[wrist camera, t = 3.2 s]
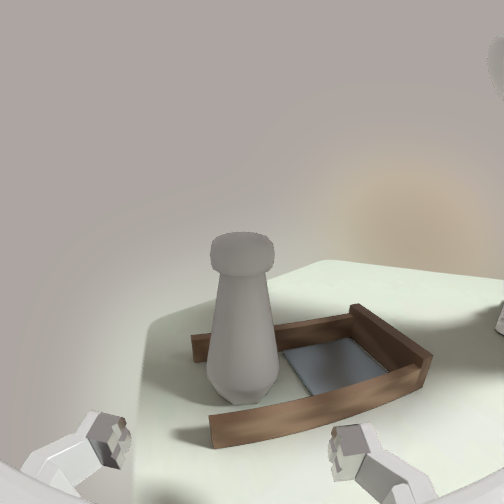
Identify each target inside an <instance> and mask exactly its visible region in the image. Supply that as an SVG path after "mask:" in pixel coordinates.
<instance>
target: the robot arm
mask: <svg viewBox="0 0 504 504" xmlns="http://www.w3.org/2000/svg"><path fill="white" fill-rule="evenodd" d="M487 61H488V71H489V75H490V78H491V81H492V83H493V86H494V88H495V89H496V91H497V93H498V94H499V96H500V97H501V98H502V100H503V101H504V35H502V36H496V37H495V39H494V40H493V42H492V43H491V45H490V48H489V51H488V58H487ZM495 329H496V330H497V331H498V332H499V333H501V334H503V335H504V306H503V308H502V311H501V314H500V316H499V319H498V321H497V324H496V326H495ZM125 426H126V421H125V418H123V417H119V416H114V415H110V414H106V413H102V412H98V411H94V410H90V411H89V412H88V413H87V415H86V416H85V418H84V420H83V421H82V423H81V424H80V426H79V427H78V429H77V431H76V432H75V434H69V435H67V436H65V437H63V438H61V439H59V440H57V441H55V442H53V443H51V444H48V445H46V446H44V447H42V448H40V449H37V450H35V451H33V452H31V454H30V455H29V457H28V458H27V460H26V461H25V463H24V464H23V466H22V467H21V469H20V470H17V469H15V468H14V467H12V466H10V465H8V464H7V463H5V462H3V461H2V460H0V504H96V503H93V502H90V501H87V500H84V499H82V498H81V496H80V494H79V493H78V492H77V490H76V489H75V488H74V487H75V486H76V485H77V484H79V483H80V482H82V481H83V480H84V479H86V478H87V477H89V476H90V475H91V474H93V473H94V472H96V471H97V470H98V469H99V468H101V467H102V465H103V466H107V467H111V468H116V469H120V470H121V468H122V465H123V463H124V460H125V456H124V453H126V452H127V451H129V448H130V446H131V435H130V431H129V430H128V429H127V428H126V427H125ZM331 434H332V438H331V439H330V440H329V444H328V457H329V461H330V462H331V463H332V464H333V465H332V468H331V471H332V476H333V480H334V482H338V481H346V480H354V479H355V481H356V482H357V483H358V484H359V485H360V486H361V487H362V488H364V489H365V490H366V491H367V492H368V493H369V494H370V495H371V496H372V497H374V498H375V499H376V500H377V501H378V502H379V503H380V504H504V468H501V469H499V470H497V471H496V472H494V473H492V474H490V475H488V476H486V477H484V478H482V479H480V480H478V481H476V482H474V483H472V484H469V485H467V486H465V487H463V488H460V489H458V490H456V491H453V492H451V493H448V494H446V495H443V496H441V497H438V496H437V494H436V492H435V490H434V487H433V485H432V483H431V481H430V479H429V477H428V475H426V474H425V473H423V472H421V471H420V470H418V469H416V468H415V467H413V466H411V465H410V464H408V463H406V462H405V461H403V460H402V459H400V458H398V457H397V456H395V455H394V454H392V453H391V452H389V451H387V450H384V451H383V449H382V446H381V444H380V441H379V439H378V436H377V434H376V432H375V429H374V427H373V424H372V423H371V422H368V423H362V424H353V425H346V426H337V427H333V429H332V432H331Z"/></svg>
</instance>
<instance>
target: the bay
mask: <svg viewBox="0 0 504 504" xmlns="http://www.w3.org/2000/svg"><path fill="white" fill-rule="evenodd" d="M274 333H275V339H276V346H277V351H283V350H285V351H283V354H284V356H285V357H286V359H287V360H288V361H289V363H290V364H291V366H292V367H293V369H294V370H295V372H296V373H297V374H298V376H299V377H300V379H301V380H302V382H303V383H304V384H305V386H306V387H307V389H308V390H309V392H310V393H311V394H312V396H310V397H306V398H302V399H298V400H294V401H289V402H285V403H280V404H275V405H270V406H265V407H260V408H255V409H249V410H243V411H237V412H231V413H224V414H217V415H209V424H210V431H211V439H212V443H213V447H214V449H219V448H225V447H232V446H238V445H244V444H249V443H254V442H259V441H264V440H269V439H273V438H278V437H282V436H286V435H290V434H294V433H298V432H302V431H306V430H309V429H313V428H316V427H320V426H323V425H326V424H330V423H333V422H336V421H339V420H342V419H345V418H348V417H351V416H354V415H357V414H360V413H362V412H365V411H368V410H370V409H373V408H376V407H378V406H381V405H383V404H386V403H388V402H391V401H393V400H395V399H398V398H400V397H402V396H405V395H407V394H409V393H411V392H413V391H416V390H418V389H420V388H422V387H423V384H424V381H425V378H426V375H427V372H428V370H429V367H430V364H431V360H432V357H433V355H432V354H431V353H429V352H428V351H427V350H425V349H424V348H422V347H421V346H419V345H418V344H417V343H415V342H414V341H412V340H411V339H409V338H408V337H407V336H405V335H404V334H402V333H401V332H399V331H398V330H397V329H395V328H394V327H392V326H391V325H389V324H388V323H387V322H385V321H384V320H382V319H381V318H379V317H378V316H376V315H375V314H374V313H372V312H371V311H369V310H368V309H366V308H365V307H363V306H362V305H360V304H359V303H358V304H353V305H350V309H349V313H347V314H342V315H336V316H331V317H325V318H319V319H313V320H307V321H301V322H295V323H288V324H281V325H274ZM348 337H351V338H352V339H354V340H355V341H356V342H357V343H358V344H359V345H360V346H362V347H363V348H364V349H365V350H366V351H367V352H368V353H370V354H371V355H372V356H373V357H374V358H375V359H376V360H378V361H379V362H380V363H381V364H382V365H383V366H384V367H385V368H387V369H388V370H389V371H390V372H389V373H387V372H386V371H385V370H384V369H382V368H381V367H380V366H379V365H378V364H377V363H376V362H375V361H373V360H372V359H371V358H370V357H369V356H368V355H367V354H366V353H365V352H363V351H362V350H361V349H360V348H359V347H358V346H357V345H356V344H354V343H353V342H352V341H351V340H350V339H349V338H348ZM343 338H345V339H343ZM210 339H211V333H208V334H198V335H191V340H192V350H193V358H194V362H203V361H207V358H208V352H209V346H210ZM339 339H340V340H339ZM334 340H336V341H334ZM329 341H331V342H329ZM325 342H326V343H325ZM320 343H322V344H320ZM315 344H317V345H315ZM310 345H312V346H310ZM305 346H307V347H305ZM299 347H301V348H299ZM294 348H296V349H294ZM288 349H290V350H288Z"/></svg>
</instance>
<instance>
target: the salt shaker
mask: <svg viewBox="0 0 504 504" xmlns="http://www.w3.org/2000/svg"><path fill="white" fill-rule="evenodd" d="M210 257H211V265H212V268H213V269H214V270H216V271H217V272H219V273H220V278H219V285H218V291H217V298H216V305H215V312H214V319H213V326H212V333H211V339H210V346H209V352H208V358H207V369H206V373H207V377H208V379H209V381H210V382H211V384H212V385H213V387H214V388H215V389H216V391H217V392H218V394H219V395H220V396H222V397H223V398H225V399H226V400H227V401H229V402H230V403H232V404H233V405H244V404H257V403H258V402H259V401H260V400H261V399H262V398H263V397H264V396H265V394H266V393H267V392H268V391H269V389H270V388H271V387H272V386H273V384H274V383H275V381H276V379H277V376H278V374H279V370H280V366H279V359H278V353H277V346H276V339H275V333H274V326H273V320H272V313H271V307H270V300H269V294H268V288H267V281H266V275H265V272H268V271H269V270H270V269H271V268H272V266H273V263H274V247H273V243H272V242H271V241H270V240H269V239H268V238H267V236H264V235H261V234H258V233H252V232H233V233H227V234H223V235H220V236H218V237H216V238H215V240H213V241H212V245H211V252H210Z"/></svg>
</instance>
